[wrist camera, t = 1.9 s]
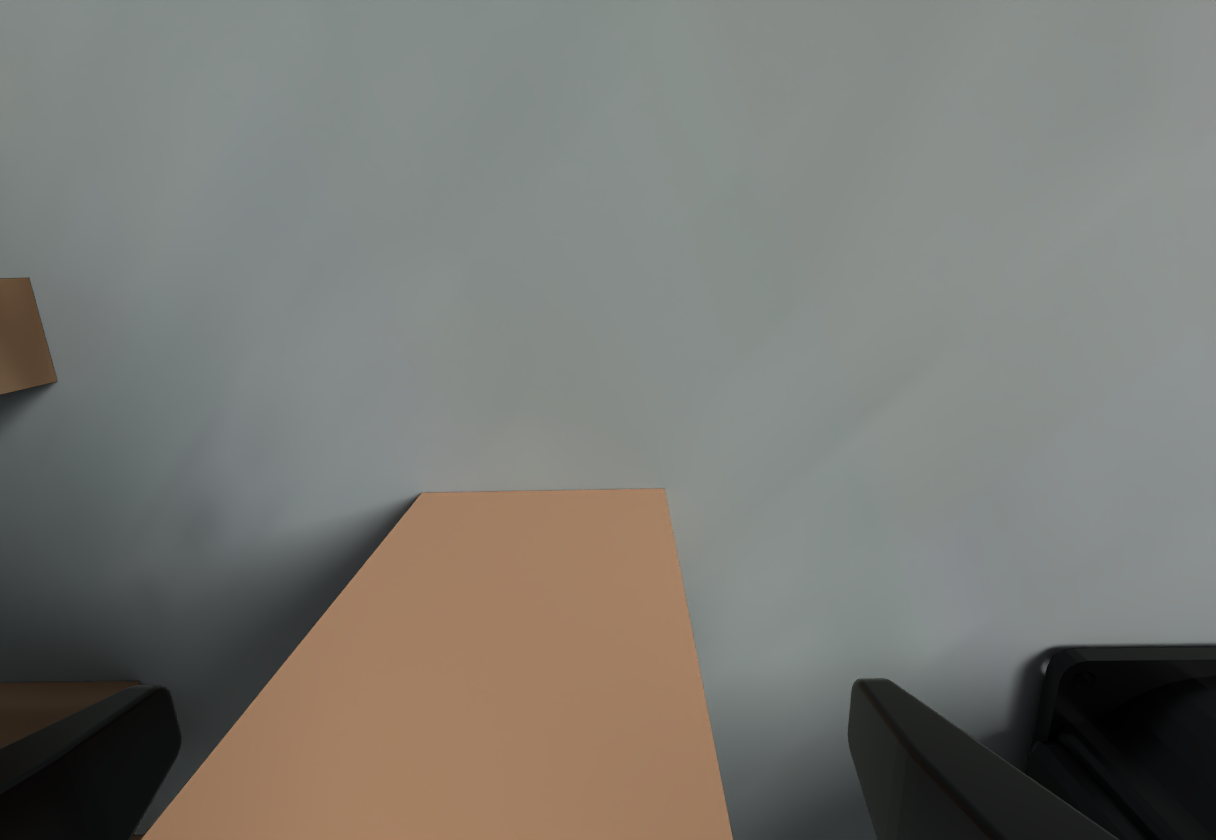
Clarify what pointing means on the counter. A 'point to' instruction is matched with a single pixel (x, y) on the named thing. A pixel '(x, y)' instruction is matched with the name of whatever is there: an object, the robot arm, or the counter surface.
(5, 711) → the domino
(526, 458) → the counter surface
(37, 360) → the domino
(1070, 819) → the robot arm
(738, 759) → the counter surface
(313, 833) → the domino
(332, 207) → the counter surface
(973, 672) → the counter surface
